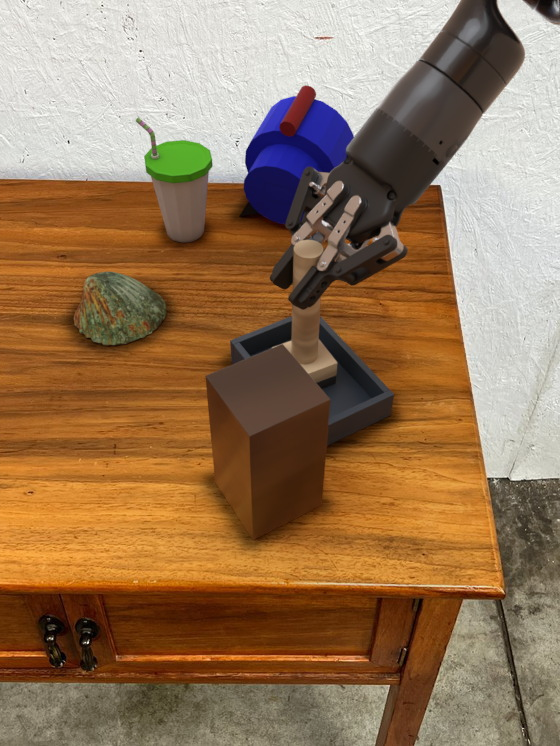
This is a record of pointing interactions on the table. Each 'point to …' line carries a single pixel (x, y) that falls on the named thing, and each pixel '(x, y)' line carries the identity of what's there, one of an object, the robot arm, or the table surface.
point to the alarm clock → (292, 152)
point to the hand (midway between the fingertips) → (287, 294)
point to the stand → (268, 438)
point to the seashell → (118, 309)
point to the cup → (179, 184)
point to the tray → (353, 379)
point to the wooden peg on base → (309, 322)
